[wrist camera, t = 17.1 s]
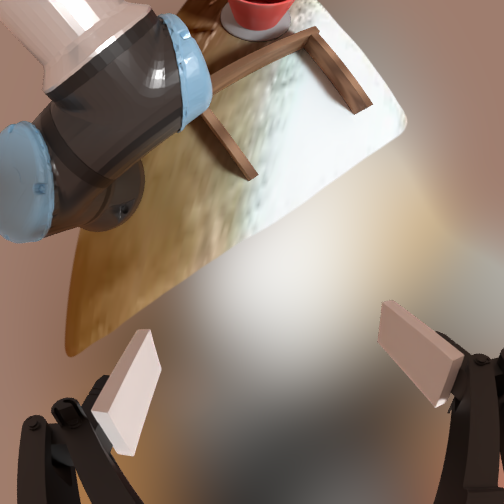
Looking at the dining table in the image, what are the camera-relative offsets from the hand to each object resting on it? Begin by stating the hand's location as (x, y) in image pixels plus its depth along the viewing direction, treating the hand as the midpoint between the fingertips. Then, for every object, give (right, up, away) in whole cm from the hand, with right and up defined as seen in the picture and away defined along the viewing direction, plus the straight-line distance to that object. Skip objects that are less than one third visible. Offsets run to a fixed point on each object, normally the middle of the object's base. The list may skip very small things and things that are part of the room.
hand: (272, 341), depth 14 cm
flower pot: (0, +45, +19) cm, 49 cm away
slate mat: (0, +45, +19) cm, 49 cm away
